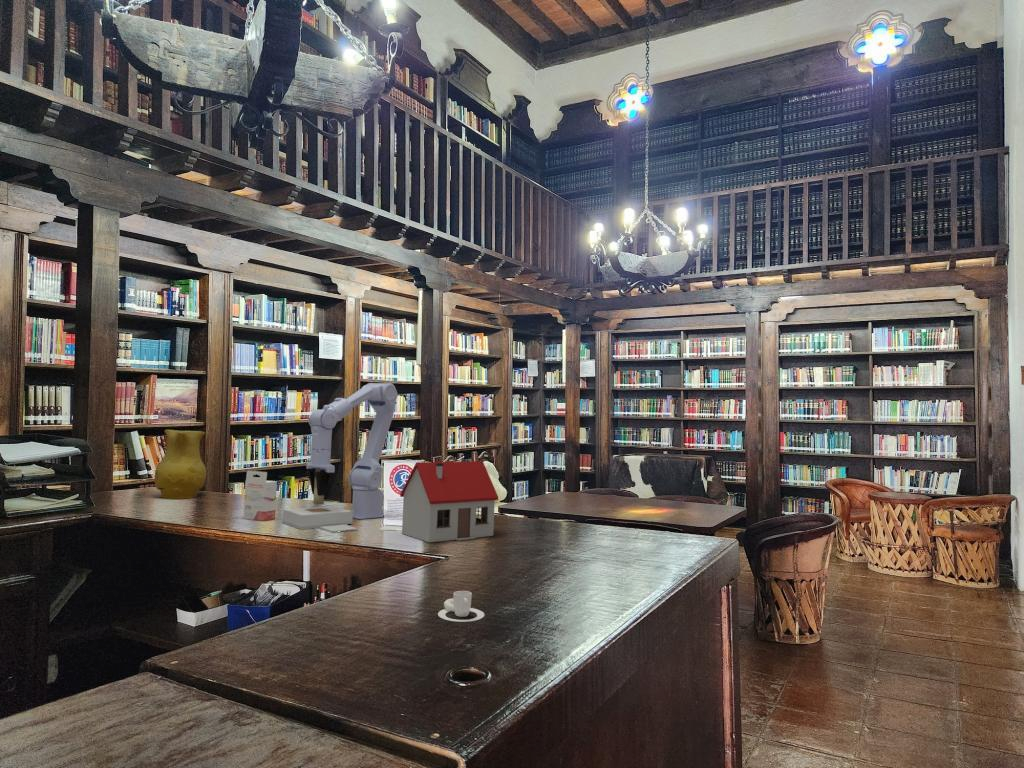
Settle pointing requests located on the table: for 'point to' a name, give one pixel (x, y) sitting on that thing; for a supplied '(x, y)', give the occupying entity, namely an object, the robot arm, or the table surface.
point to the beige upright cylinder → (317, 498)
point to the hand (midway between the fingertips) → (318, 494)
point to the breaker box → (316, 517)
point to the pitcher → (181, 466)
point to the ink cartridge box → (259, 497)
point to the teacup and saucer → (460, 607)
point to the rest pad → (338, 528)
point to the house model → (448, 501)
